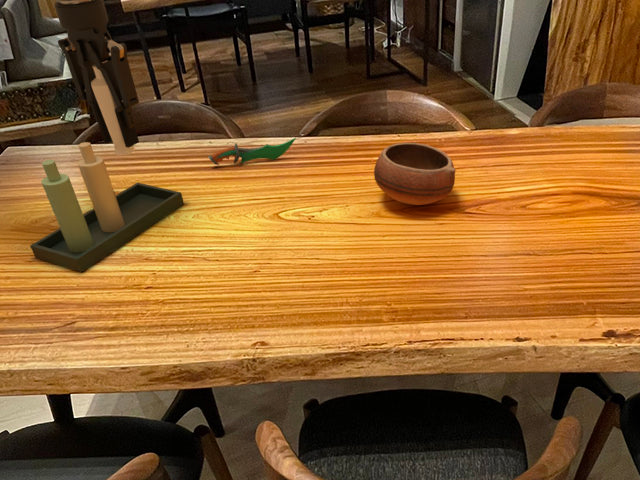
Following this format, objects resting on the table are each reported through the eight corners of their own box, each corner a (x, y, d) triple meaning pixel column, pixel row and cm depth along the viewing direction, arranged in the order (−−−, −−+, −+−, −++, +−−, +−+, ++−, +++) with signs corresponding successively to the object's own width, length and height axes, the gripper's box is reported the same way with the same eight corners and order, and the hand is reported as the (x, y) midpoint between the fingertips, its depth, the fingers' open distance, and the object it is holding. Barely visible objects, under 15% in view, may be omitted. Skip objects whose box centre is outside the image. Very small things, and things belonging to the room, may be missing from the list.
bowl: (462, 214, 120) (465, 164, 113) (381, 222, 118) (380, 172, 112) (443, 179, 131) (445, 131, 125) (369, 186, 130) (368, 139, 123)
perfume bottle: (138, 153, 115) (113, 67, 105) (113, 157, 114) (85, 70, 104) (136, 144, 118) (111, 59, 108) (112, 148, 117) (85, 63, 107)
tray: (35, 258, 112) (29, 245, 111) (140, 194, 130) (137, 182, 129) (81, 272, 108) (76, 259, 107) (184, 204, 126) (181, 192, 125)
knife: (211, 169, 138) (206, 147, 135) (210, 166, 140) (205, 144, 136) (299, 158, 142) (296, 136, 138) (298, 154, 143) (295, 133, 140)
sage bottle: (63, 249, 113) (28, 165, 102) (82, 238, 116) (49, 154, 105) (81, 255, 112) (47, 169, 101) (99, 243, 114) (67, 159, 104)
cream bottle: (96, 229, 118) (65, 147, 108) (112, 219, 121) (84, 137, 110) (113, 234, 117) (84, 151, 106) (129, 223, 120) (103, 141, 109)
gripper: (135, -3, 99) (172, 142, 115) (56, -10, 105) (101, 128, 121) (100, 7, 94) (144, 157, 110) (20, -1, 100) (72, 142, 116)
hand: (121, 142), depth 115 cm, fingers closed on perfume bottle, 5 cm apart
